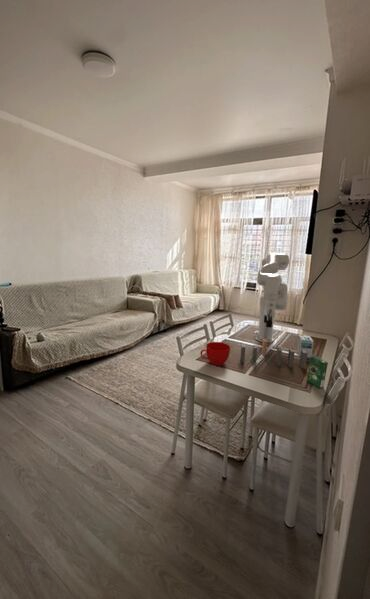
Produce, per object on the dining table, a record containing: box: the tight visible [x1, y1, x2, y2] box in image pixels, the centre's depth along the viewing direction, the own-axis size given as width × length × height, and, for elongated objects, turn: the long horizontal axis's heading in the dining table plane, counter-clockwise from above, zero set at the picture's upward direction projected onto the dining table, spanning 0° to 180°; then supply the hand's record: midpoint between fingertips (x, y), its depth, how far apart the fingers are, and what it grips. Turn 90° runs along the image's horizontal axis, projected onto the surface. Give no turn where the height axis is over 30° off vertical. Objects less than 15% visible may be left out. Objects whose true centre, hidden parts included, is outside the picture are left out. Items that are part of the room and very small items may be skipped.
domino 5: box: [286, 348, 296, 368], centre depth 155 cm, size 2×5×9 cm, turn 171°
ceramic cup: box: [199, 341, 231, 367], centre depth 153 cm, size 13×17×10 cm
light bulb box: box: [296, 334, 315, 359], centre depth 172 cm, size 11×7×11 cm, turn 168°
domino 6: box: [298, 350, 308, 370], centre depth 154 cm, size 2×5×9 cm, turn 171°
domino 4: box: [274, 346, 283, 367], centre depth 156 cm, size 2×5×9 cm, turn 171°
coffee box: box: [306, 355, 329, 389], centre depth 134 cm, size 8×3×13 cm, turn 22°
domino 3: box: [261, 339, 268, 357], centre depth 170 cm, size 2×5×9 cm, turn 171°
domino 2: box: [251, 344, 258, 365], centre depth 158 cm, size 2×5×9 cm, turn 171°
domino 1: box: [239, 343, 247, 363], centre depth 159 cm, size 2×5×9 cm, turn 171°
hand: (267, 324), depth 167 cm, fingers open, 9 cm apart
